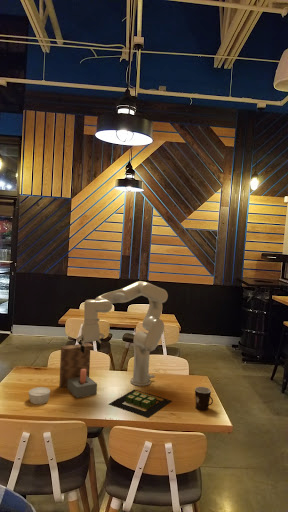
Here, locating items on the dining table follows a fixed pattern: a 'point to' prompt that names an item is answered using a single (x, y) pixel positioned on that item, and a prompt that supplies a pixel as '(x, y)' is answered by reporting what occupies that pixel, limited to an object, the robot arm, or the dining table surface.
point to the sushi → (141, 403)
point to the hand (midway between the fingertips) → (90, 351)
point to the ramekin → (39, 395)
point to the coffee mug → (202, 398)
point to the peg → (83, 376)
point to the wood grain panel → (73, 362)
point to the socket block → (82, 387)
